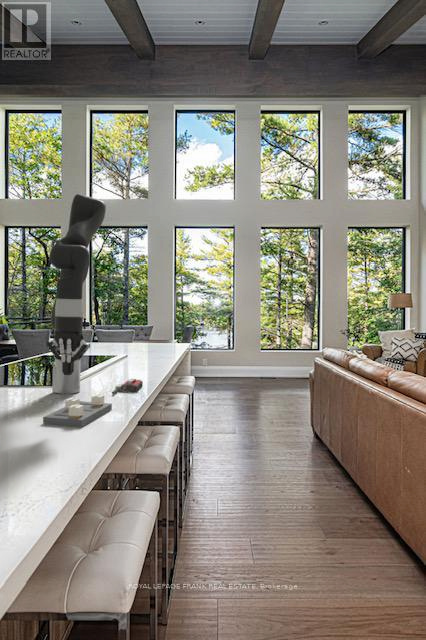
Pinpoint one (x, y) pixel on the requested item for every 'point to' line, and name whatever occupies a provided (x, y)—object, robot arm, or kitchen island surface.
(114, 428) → the kitchen island surface
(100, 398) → the tab back
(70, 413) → the tab front
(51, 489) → the kitchen island surface
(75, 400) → the tab middle
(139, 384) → the walkie-talkie
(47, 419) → the switch panel
